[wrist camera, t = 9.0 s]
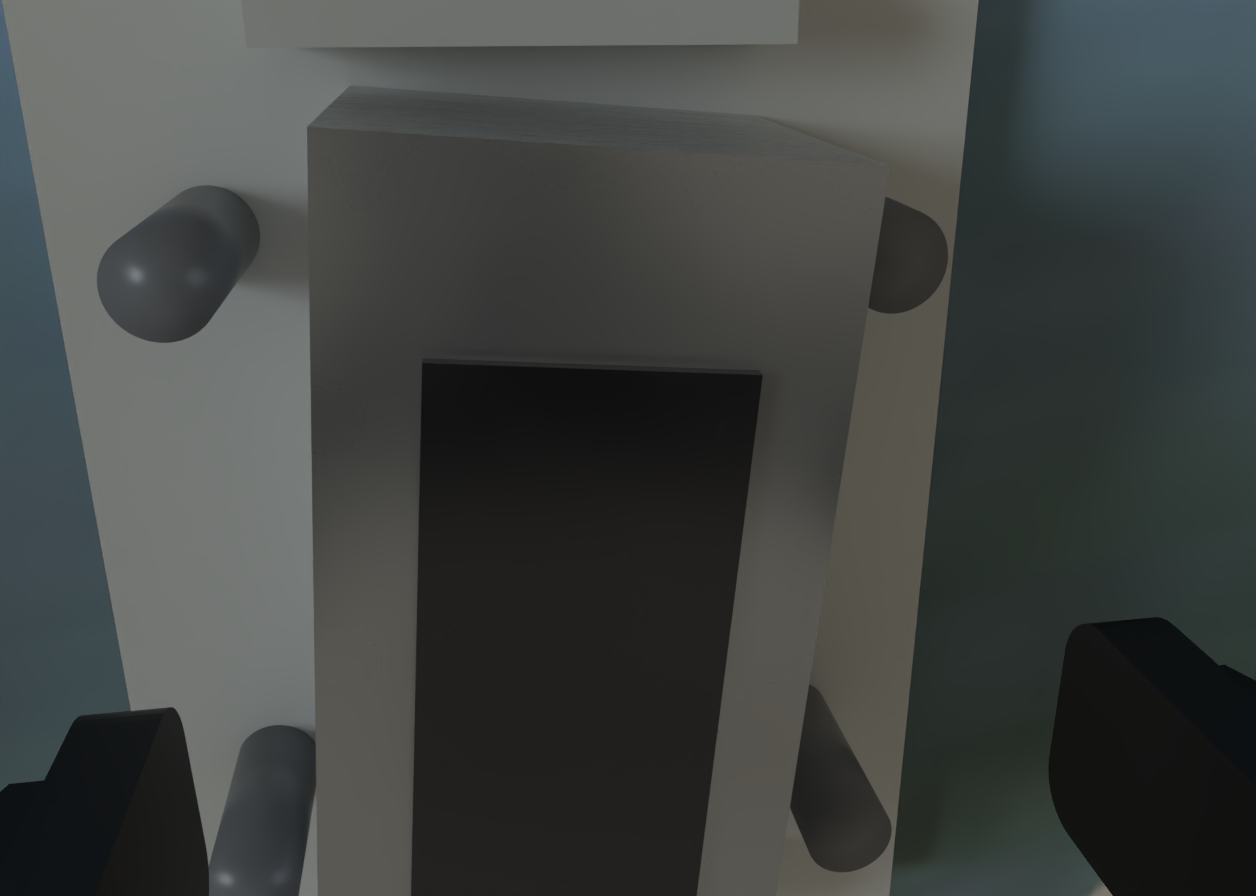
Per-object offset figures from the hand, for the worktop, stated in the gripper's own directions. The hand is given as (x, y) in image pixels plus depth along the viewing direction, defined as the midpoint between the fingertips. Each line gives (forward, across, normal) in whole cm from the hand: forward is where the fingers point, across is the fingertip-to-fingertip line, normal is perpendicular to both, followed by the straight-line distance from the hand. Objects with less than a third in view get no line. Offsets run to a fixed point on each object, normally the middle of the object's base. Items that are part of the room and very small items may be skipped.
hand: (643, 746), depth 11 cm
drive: (+7, 0, 0) cm, 7 cm away
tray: (+8, 0, +1) cm, 8 cm away
